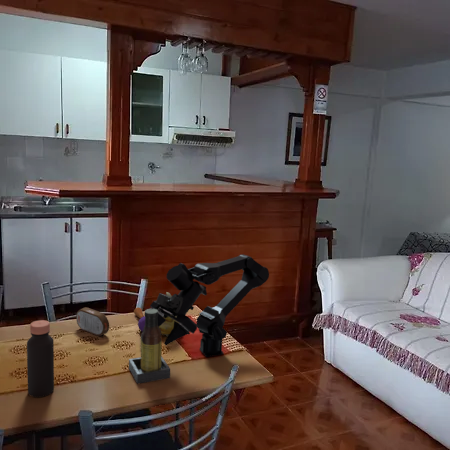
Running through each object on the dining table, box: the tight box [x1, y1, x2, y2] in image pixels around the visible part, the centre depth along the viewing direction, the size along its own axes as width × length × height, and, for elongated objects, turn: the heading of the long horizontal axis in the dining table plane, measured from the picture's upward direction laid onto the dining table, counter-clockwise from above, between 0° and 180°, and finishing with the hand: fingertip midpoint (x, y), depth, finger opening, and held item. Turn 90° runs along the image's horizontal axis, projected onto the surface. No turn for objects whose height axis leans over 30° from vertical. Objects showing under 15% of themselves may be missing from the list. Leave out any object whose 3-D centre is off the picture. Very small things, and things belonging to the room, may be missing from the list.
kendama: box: [133, 307, 145, 332], centre depth 180 cm, size 6×6×20 cm
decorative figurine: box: [159, 291, 179, 337], centre depth 173 cm, size 10×8×15 cm
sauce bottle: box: [140, 308, 163, 372], centre depth 142 cm, size 7×6×20 cm
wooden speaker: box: [75, 306, 110, 337], centre depth 170 cm, size 15×3×8 cm, turn 58°
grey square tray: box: [128, 355, 171, 384], centre depth 144 cm, size 10×10×3 cm
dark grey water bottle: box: [26, 319, 55, 398], centre depth 129 cm, size 7×7×20 cm
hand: (156, 339), depth 143 cm, fingers open, 9 cm apart
